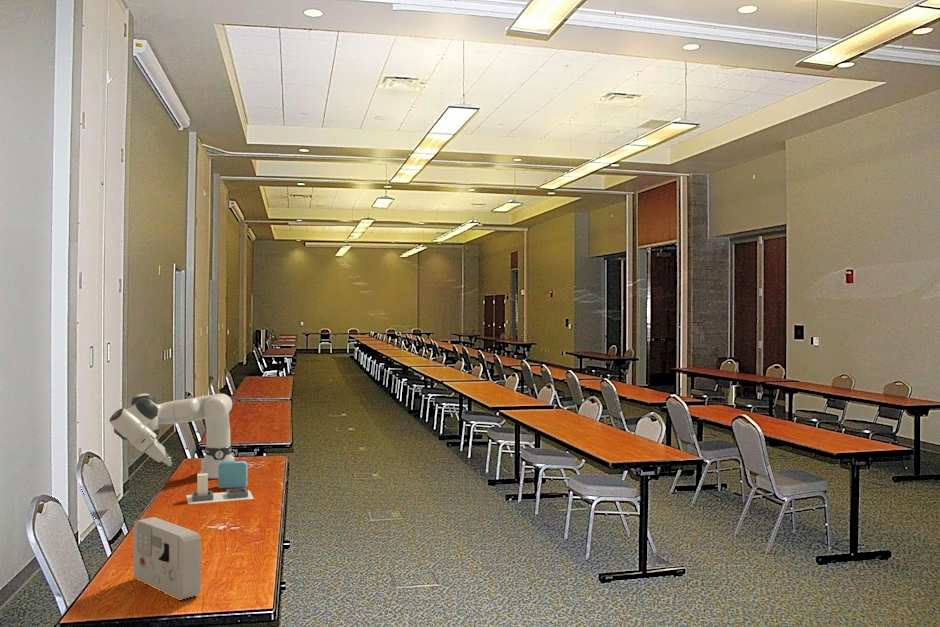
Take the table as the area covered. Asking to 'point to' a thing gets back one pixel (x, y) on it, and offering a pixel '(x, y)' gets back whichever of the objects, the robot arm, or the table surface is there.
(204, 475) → the plug block
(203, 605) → the table surface
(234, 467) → the data package
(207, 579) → the table surface
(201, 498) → the dock
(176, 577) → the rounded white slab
